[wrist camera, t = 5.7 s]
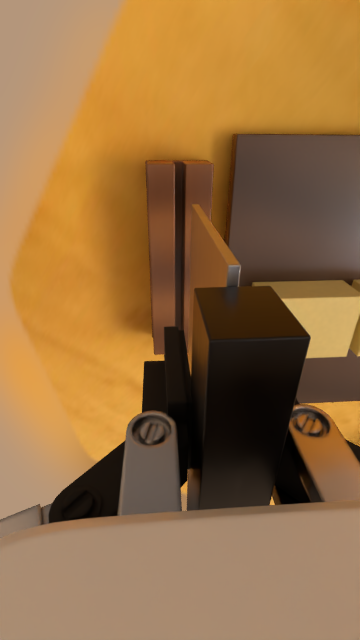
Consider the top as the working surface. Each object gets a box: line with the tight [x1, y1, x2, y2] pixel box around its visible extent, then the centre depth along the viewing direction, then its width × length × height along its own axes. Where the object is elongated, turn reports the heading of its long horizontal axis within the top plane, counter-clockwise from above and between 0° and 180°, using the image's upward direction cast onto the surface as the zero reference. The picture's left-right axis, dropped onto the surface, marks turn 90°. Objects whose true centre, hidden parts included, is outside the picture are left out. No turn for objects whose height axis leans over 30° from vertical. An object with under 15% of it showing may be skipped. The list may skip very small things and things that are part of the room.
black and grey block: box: [187, 204, 311, 511], centre depth 12 cm, size 10×2×9 cm, turn 0°
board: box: [225, 134, 360, 404], centre depth 26 cm, size 22×18×1 cm
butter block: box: [252, 280, 360, 358], centre depth 24 cm, size 5×7×3 cm
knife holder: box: [146, 160, 214, 355], centre depth 23 cm, size 13×4×3 cm, turn 0°
